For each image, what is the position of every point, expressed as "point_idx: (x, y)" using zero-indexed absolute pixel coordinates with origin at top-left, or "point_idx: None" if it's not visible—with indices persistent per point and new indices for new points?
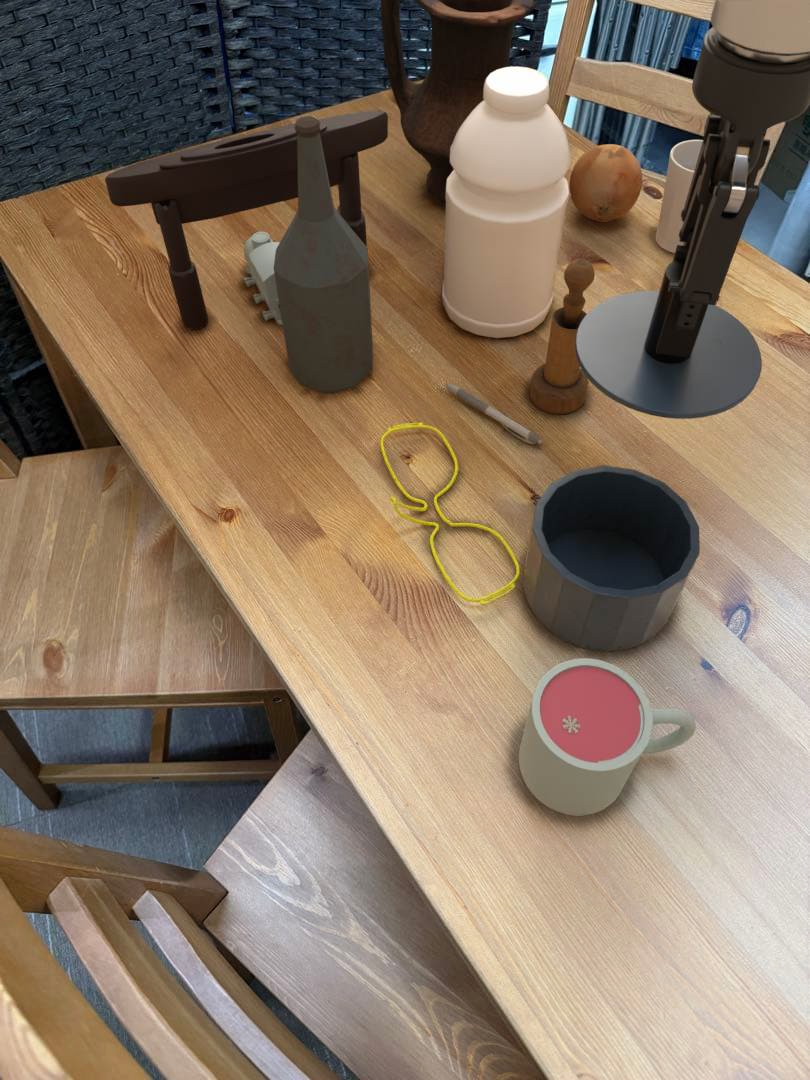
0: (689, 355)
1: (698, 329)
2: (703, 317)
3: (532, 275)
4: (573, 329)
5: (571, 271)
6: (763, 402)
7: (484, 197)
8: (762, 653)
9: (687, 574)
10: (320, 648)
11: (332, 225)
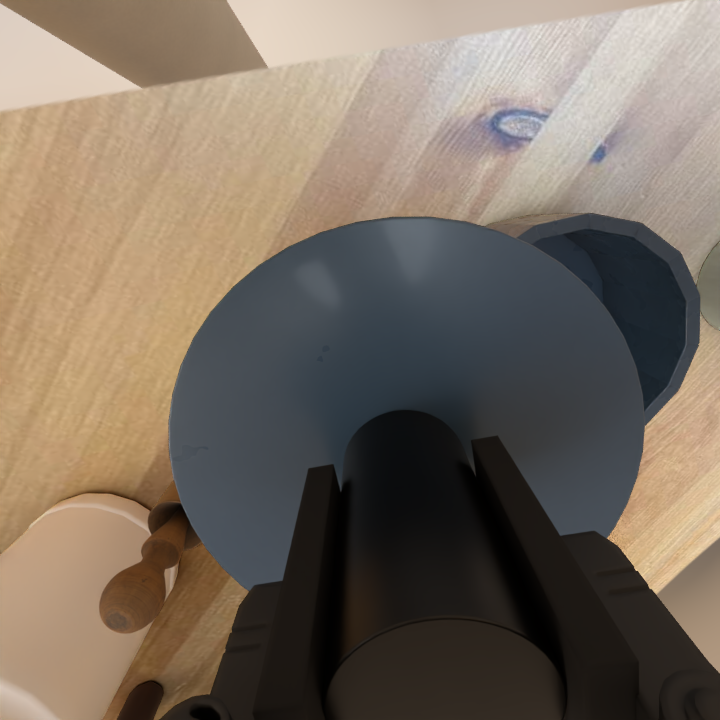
0: (500, 441)
1: (539, 502)
2: (559, 537)
3: (89, 580)
4: None
5: (146, 623)
6: (92, 165)
7: None
8: (562, 80)
9: (639, 222)
10: (666, 540)
11: None
